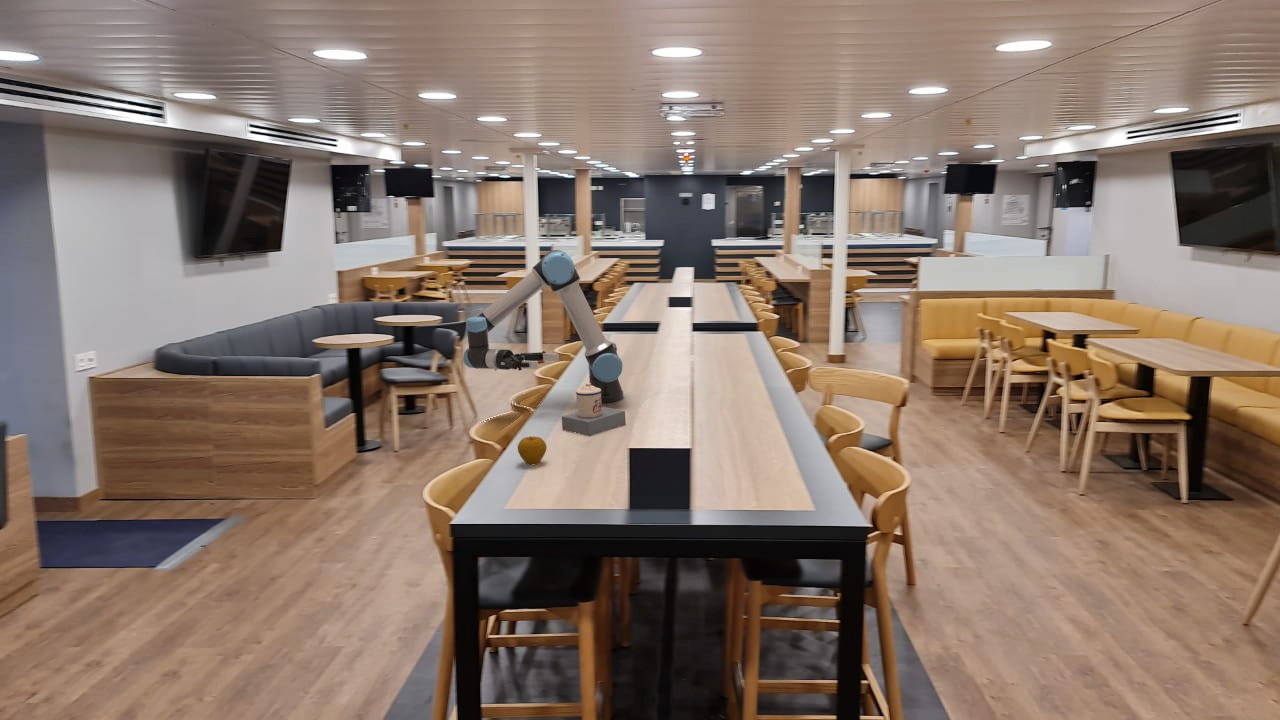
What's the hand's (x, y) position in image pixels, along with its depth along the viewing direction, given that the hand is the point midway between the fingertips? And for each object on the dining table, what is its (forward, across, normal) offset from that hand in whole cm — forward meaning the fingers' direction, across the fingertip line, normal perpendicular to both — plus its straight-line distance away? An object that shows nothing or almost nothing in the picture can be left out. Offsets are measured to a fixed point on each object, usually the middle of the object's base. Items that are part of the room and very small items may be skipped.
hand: (548, 361), depth 321 cm
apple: (+21, +44, -23) cm, 54 cm away
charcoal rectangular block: (+18, +1, -23) cm, 30 cm away
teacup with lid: (+18, +2, -19) cm, 26 cm away
